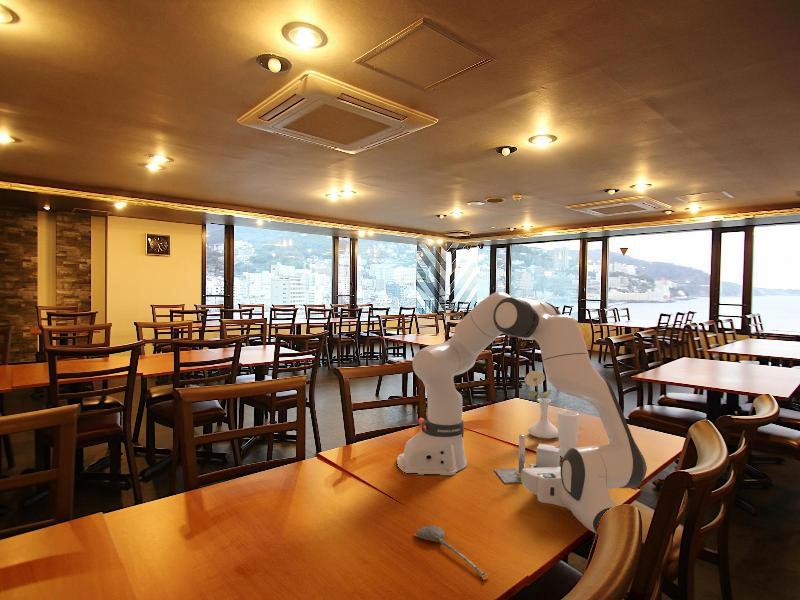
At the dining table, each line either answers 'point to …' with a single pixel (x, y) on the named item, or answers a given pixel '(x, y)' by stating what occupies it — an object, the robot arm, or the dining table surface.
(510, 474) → the bolt-hole strip
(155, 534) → the dining table surface
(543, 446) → the skincare box
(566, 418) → the drinking glass
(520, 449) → the steel pin
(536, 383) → the flower in vase
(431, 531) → the soupspoon
